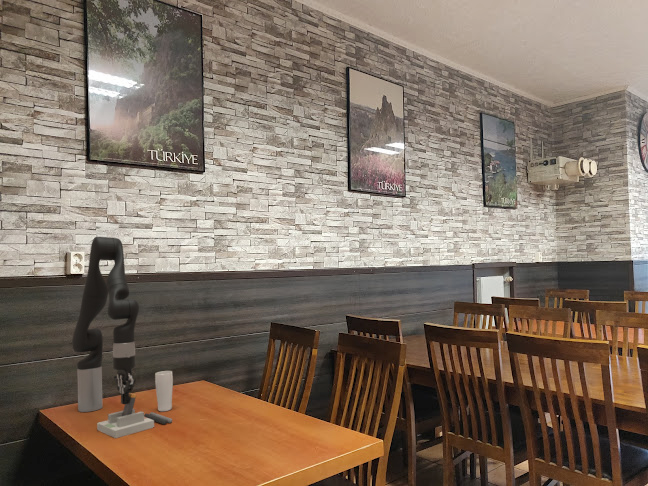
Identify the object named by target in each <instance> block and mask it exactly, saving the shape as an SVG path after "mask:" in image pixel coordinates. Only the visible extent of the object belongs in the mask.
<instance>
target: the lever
mask: <svg viewBox="0 0 648 486" xmlns="http://www.w3.org/2000/svg"><path fill="white" fill-rule="evenodd" d="M136 398H137V394H135V393H129V403H128V404H124V406H123V410H122V411H123V414H122V416H125V415H129V414H132V410H133V409H134V406H135V401H136ZM122 416H121V417H122Z"/></svg>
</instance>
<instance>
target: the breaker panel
mask: <svg viewBox="0 0 648 486" xmlns="http://www.w3.org/2000/svg"><path fill="white" fill-rule="evenodd" d="M122 414H123V410H120V411H117V412H111V413H107V420H103V421H100V422H97V424H96V426H97V427H96V429H97V431H99V432H100V433H103V434H105V435H107V436H109V437H112V438H114V439H117V438H121V437H126V436H129V435H133V434H136V433H139V432H143V431H146V430H150V429H153V427H154V428H155V421H154V420H152V419H149V418H147V417H144V415H145V412H144V411H138V412H136V410H135V408H133V410H132V414H129V415H125V416H122ZM121 416H122V417H121Z"/></svg>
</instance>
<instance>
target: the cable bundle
mask: <svg viewBox="0 0 648 486" xmlns="http://www.w3.org/2000/svg"><path fill="white" fill-rule="evenodd" d="M144 417H147V418H149V419H152V420H154V423H155V422H156V423H158V424H161V425H167V423H169V424H171V423H172V422H173V419H172V418H171V417H167V416H165V415H162V414H159V413H156V412H153V411H151V412H149V413H144Z"/></svg>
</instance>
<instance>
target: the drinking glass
mask: <svg viewBox="0 0 648 486" xmlns="http://www.w3.org/2000/svg"><path fill="white" fill-rule="evenodd" d="M173 379H174V377H173V370H164V371H157V372H155V374H154V380H155V381H154V383H155V393H156V401H157V410H158V412H168V411H171V410H172V409H173V402H172V401H173V384H174V380H173Z"/></svg>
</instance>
